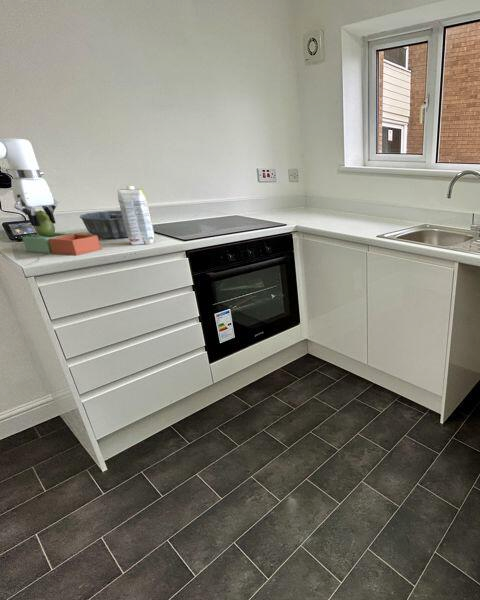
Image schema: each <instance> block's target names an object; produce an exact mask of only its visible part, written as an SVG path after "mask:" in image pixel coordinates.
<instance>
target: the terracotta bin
mask: <svg viewBox="0 0 480 600" xmlns="http://www.w3.org/2000/svg"><path fill="white" fill-rule="evenodd" d="M49 242H50V245H51V248H52V251H53V253H52V254H55V255H56V254H57V255H70V256H78V255H83V254H87V253H91V252H96V251H99V250H102V247H101V243H100V240H99V237H98V236H97V235H92V234H82V233H81V234H79V233H72V235H67V236H62V237H56V238H51V239H49Z"/></svg>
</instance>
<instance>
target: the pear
mask: <svg viewBox="0 0 480 600" xmlns="http://www.w3.org/2000/svg"><path fill="white" fill-rule="evenodd" d="M35 215H37V217H38V220H39V222H40V226H34V230H35V233H36V234H37V235H38V234H39V235H40V236H44V237H49V236H52V235H53V234H54V233H56V228H55V224H53V223H52V222H51V221H50V219H49V216H48V215H47V214H46V212H45V211H44V210H35Z"/></svg>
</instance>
